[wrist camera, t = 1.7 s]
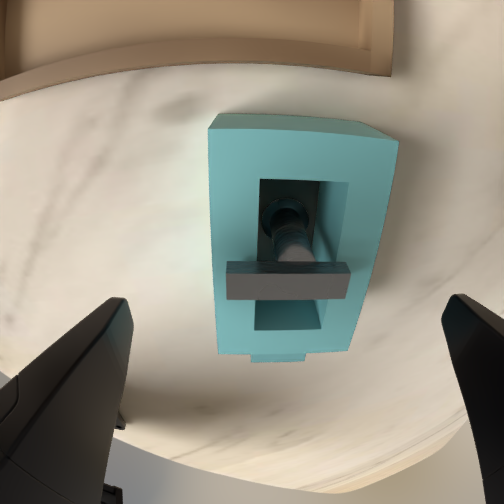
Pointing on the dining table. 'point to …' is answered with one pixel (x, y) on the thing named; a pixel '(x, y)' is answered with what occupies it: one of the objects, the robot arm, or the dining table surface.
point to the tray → (186, 37)
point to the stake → (287, 263)
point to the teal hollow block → (325, 231)
